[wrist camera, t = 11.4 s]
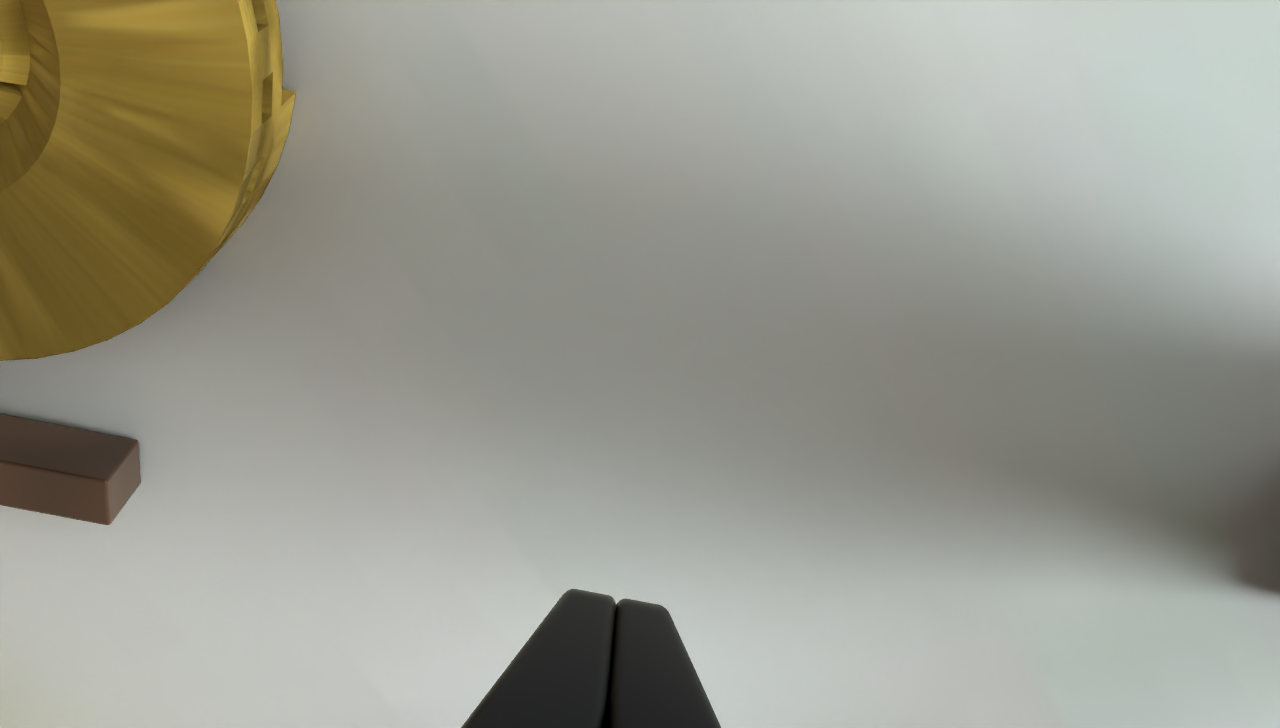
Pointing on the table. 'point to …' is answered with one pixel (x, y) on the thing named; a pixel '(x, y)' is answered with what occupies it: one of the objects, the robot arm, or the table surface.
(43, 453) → the frame
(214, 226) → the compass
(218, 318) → the table surface
